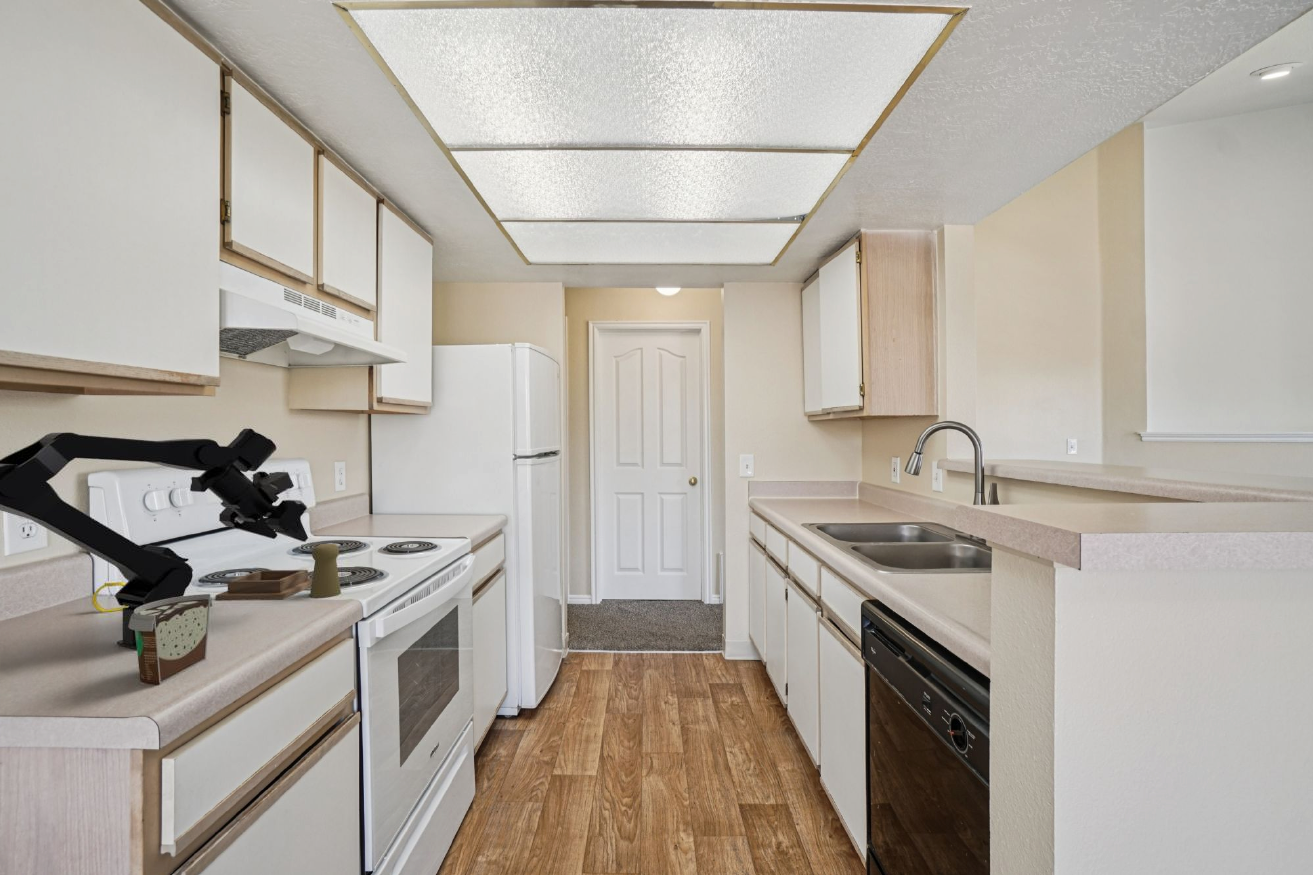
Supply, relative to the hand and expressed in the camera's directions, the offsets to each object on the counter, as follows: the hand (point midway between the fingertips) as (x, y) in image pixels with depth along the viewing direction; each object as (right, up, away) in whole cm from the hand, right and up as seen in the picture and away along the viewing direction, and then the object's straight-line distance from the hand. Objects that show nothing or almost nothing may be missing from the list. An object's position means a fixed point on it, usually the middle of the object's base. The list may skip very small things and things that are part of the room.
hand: (290, 538), depth 123 cm
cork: (+3, -14, +7) cm, 16 cm away
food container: (+3, -14, -36) cm, 39 cm away
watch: (-32, -14, -5) cm, 35 cm away
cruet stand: (-11, -14, +10) cm, 20 cm away
